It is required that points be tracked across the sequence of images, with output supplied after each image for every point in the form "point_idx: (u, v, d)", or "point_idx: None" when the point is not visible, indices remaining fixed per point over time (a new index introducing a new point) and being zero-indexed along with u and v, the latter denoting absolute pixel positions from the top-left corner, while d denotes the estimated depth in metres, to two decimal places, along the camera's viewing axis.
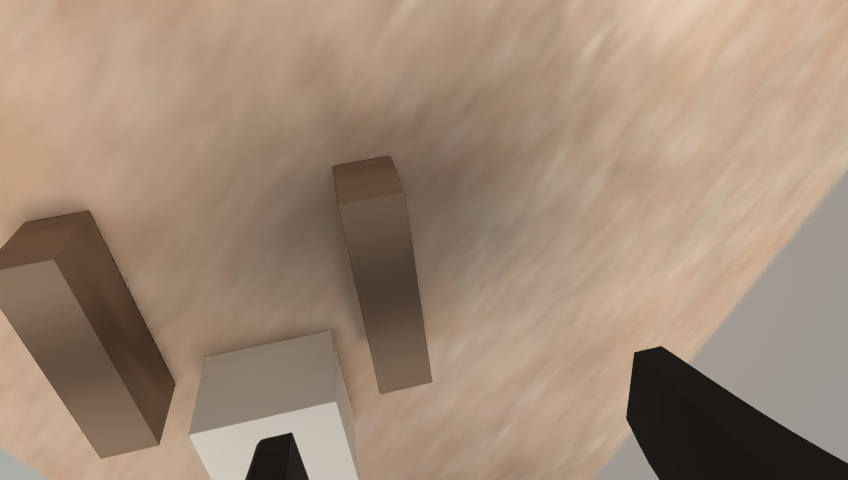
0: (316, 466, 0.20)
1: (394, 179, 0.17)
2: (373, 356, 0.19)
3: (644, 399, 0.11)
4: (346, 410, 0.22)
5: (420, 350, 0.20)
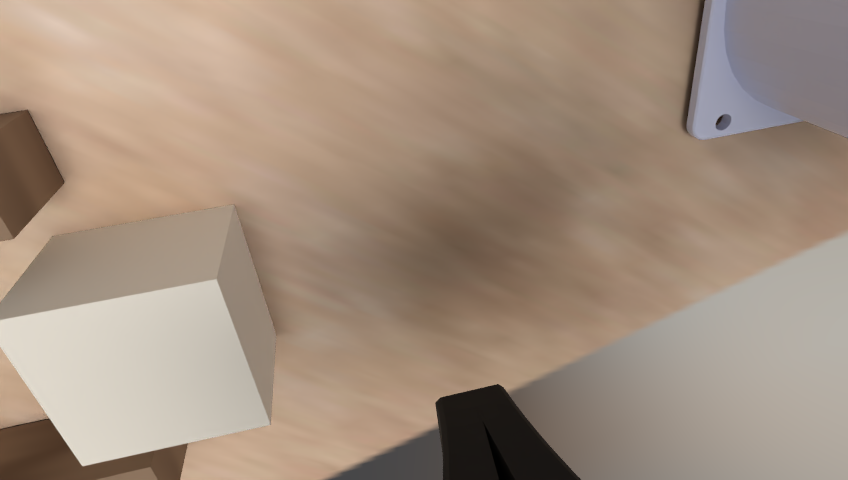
0: (151, 340, 0.13)
1: None
2: None
3: None
4: (138, 251, 0.14)
5: None
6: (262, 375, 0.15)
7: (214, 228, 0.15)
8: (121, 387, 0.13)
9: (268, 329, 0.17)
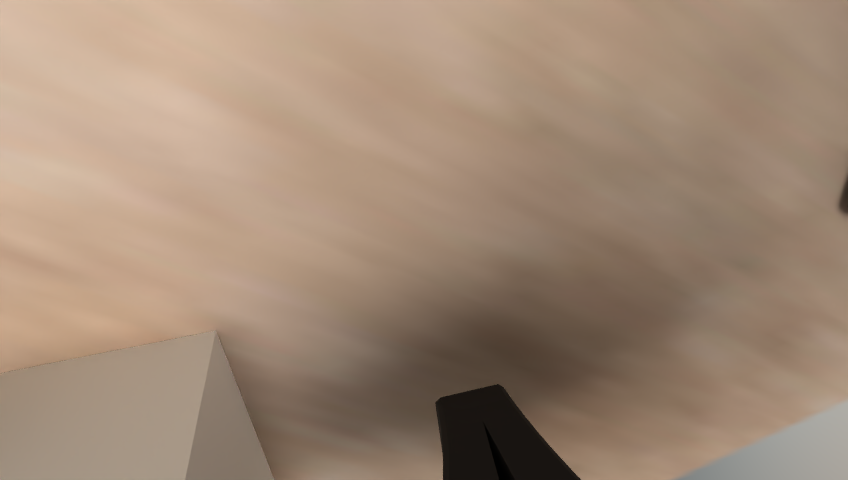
0: None
1: None
2: None
3: None
4: (65, 426, 0.09)
5: None
6: None
7: (184, 381, 0.10)
8: None
9: None
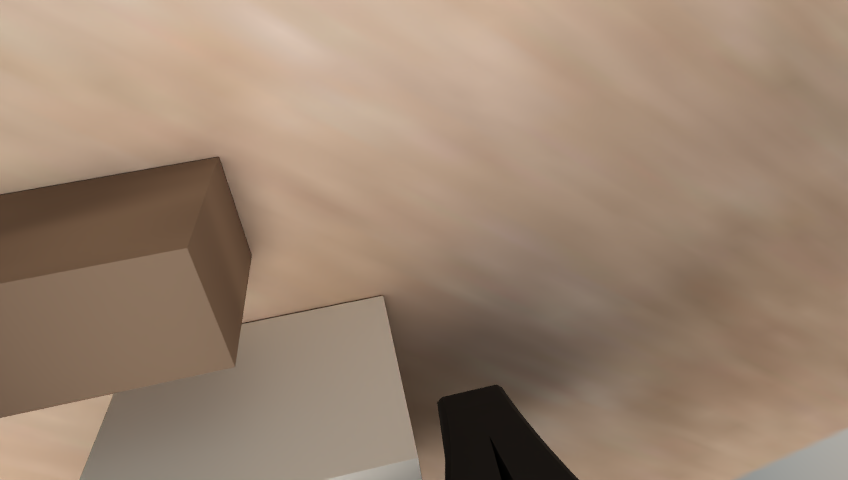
0: None
1: None
2: (92, 394, 0.07)
3: None
4: (269, 387, 0.09)
5: (52, 293, 0.07)
6: None
7: (372, 345, 0.10)
8: None
9: None
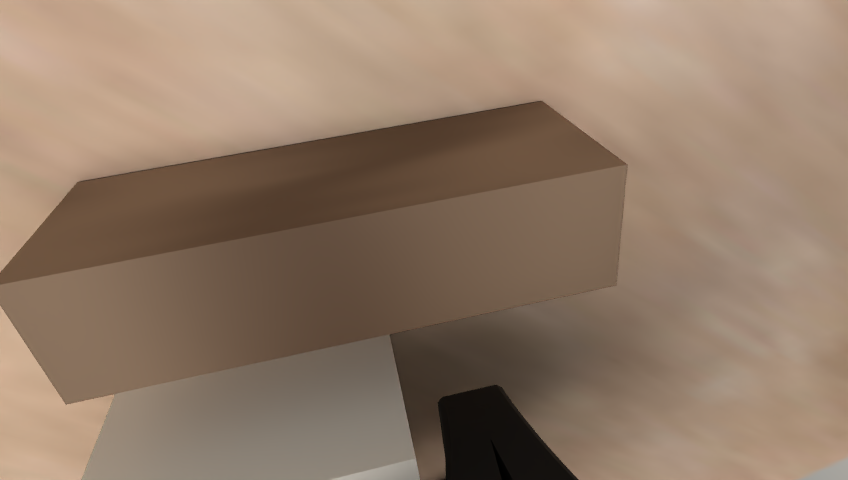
0: None
1: None
2: (496, 308, 0.08)
3: None
4: (267, 389, 0.09)
5: (506, 205, 0.07)
6: None
7: (370, 346, 0.10)
8: None
9: None
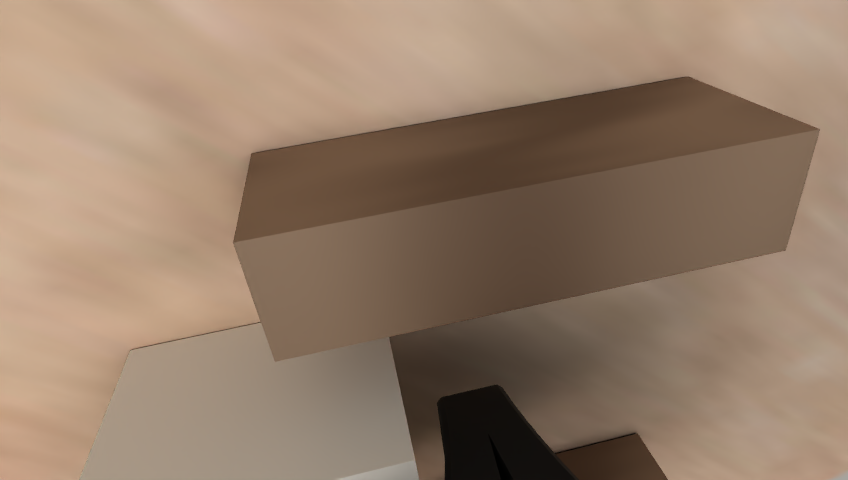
0: None
1: None
2: (674, 271, 0.08)
3: None
4: (266, 390, 0.09)
5: (704, 168, 0.07)
6: None
7: (369, 347, 0.10)
8: None
9: None
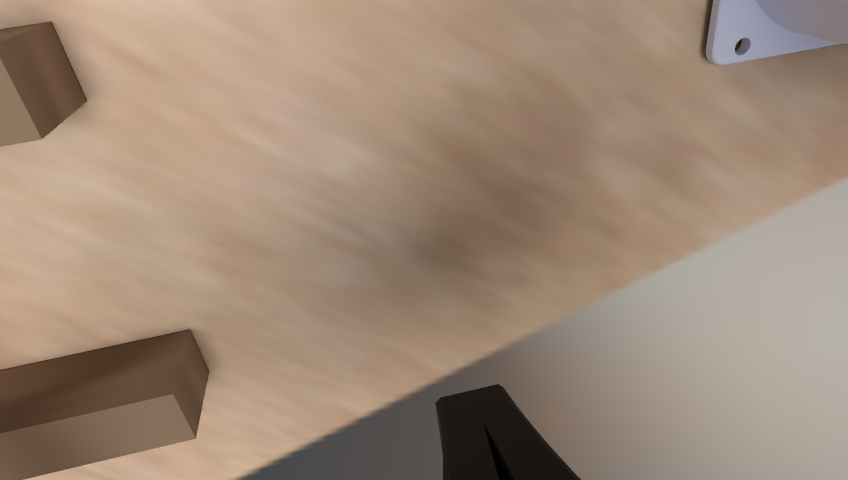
0: None
1: None
2: None
3: None
4: None
5: None
6: None
7: None
8: None
9: None
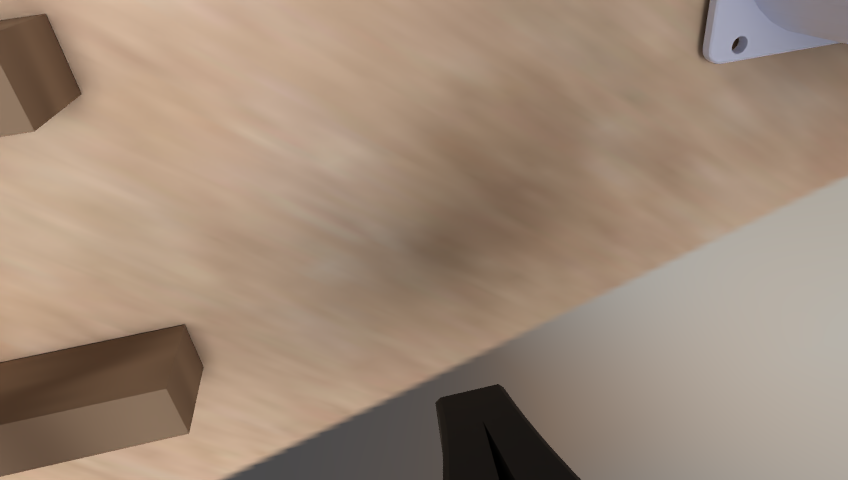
0: None
1: None
2: None
3: None
4: None
5: None
6: None
7: None
8: None
9: None
